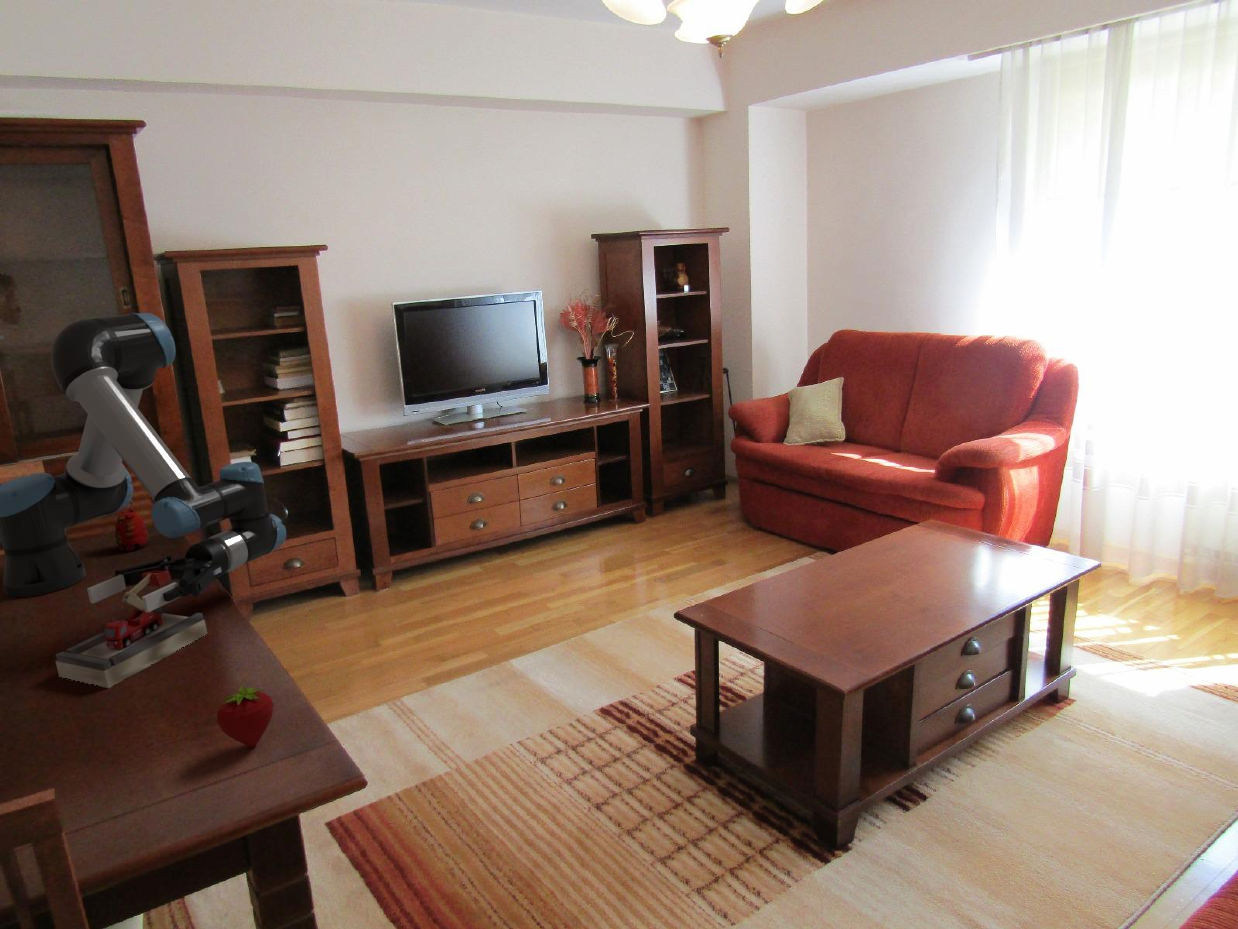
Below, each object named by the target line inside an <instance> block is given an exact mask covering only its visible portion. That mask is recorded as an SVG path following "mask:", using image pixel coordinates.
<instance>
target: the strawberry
mask: <svg viewBox="0 0 1238 929" xmlns="http://www.w3.org/2000/svg"><path fill="white" fill-rule="evenodd" d="M239 681H240V682H241V684H242V685H241V686H240V688H238V690H237V693H236V694H233V695H229V696H225V697H223V700H227V701H225V702H223V704H221V707H219V709H218V711H217V715H216V723H217V724H218V726H219V727H220V729H221V730H222V732H223V733H224V734H225V735H227V736H228V737H230V738H232V740H234V741H237V742H239V743H241V744H243V745H244V746H245V747H249V748H253V747H255V746H257V744H258V743H260V740H261V738H262V737H263V735H264V734H265V732H266V731H267V728H268V727H269V725H270V722H271V720H272V719H273V712H274V706H275V705H274V704H275V703H274V701H273V699H272V697H271V695H269V694H267V693H265V692H263V691H265V689H263V688H262V689H255V687H249V688H247V686H246V685H245V684H244V682H243V681H242V680H241V679H239Z"/></svg>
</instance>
